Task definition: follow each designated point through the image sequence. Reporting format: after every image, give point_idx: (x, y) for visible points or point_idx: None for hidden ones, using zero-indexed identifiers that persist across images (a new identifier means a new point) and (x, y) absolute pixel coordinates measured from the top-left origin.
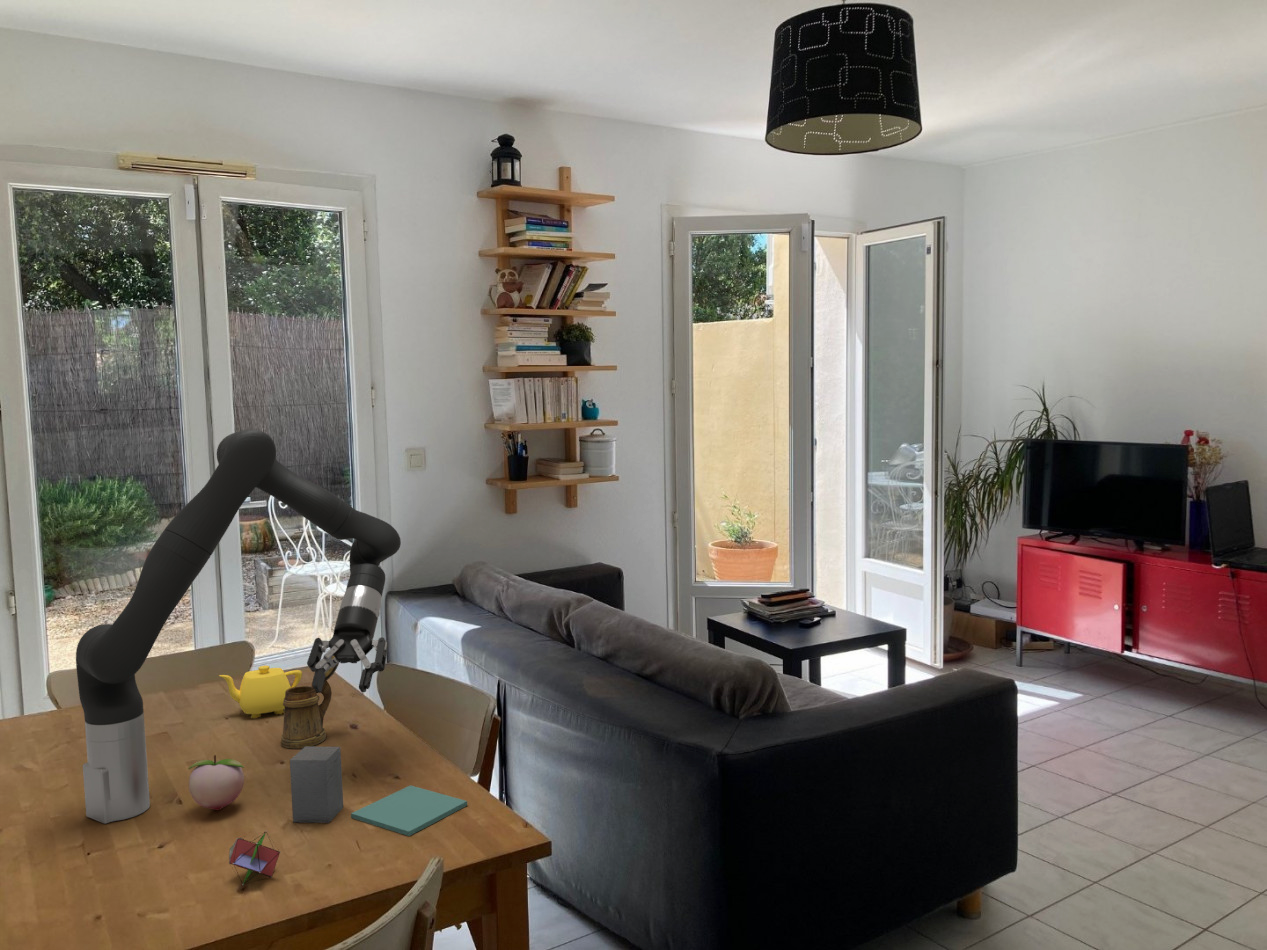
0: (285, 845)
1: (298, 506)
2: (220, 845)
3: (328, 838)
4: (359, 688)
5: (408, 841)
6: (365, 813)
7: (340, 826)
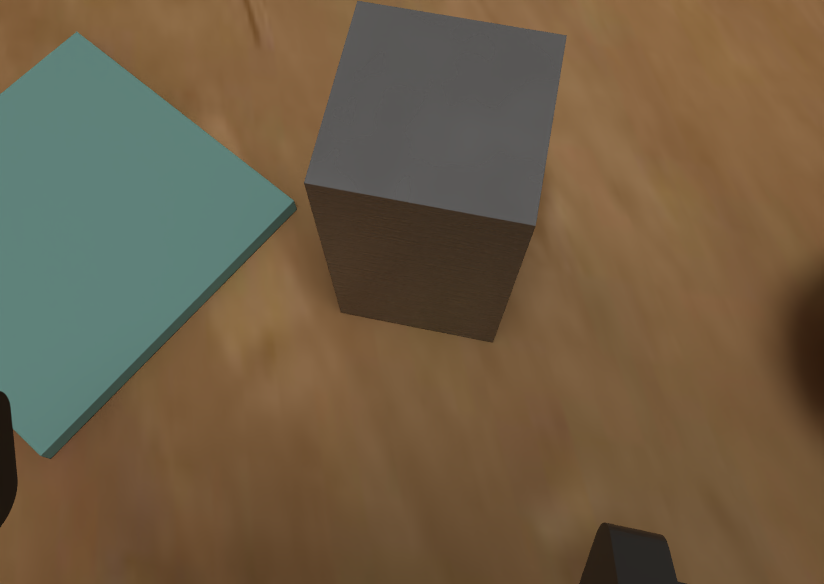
0: None
1: None
2: (718, 73)
3: None
4: (4, 399)
5: (88, 13)
6: (236, 190)
7: None
